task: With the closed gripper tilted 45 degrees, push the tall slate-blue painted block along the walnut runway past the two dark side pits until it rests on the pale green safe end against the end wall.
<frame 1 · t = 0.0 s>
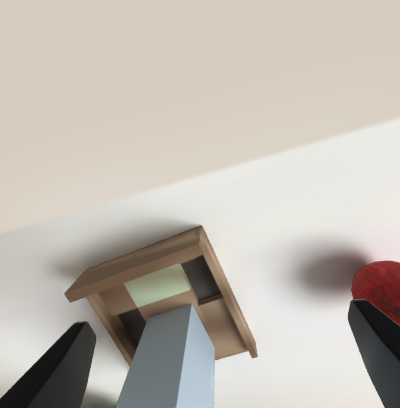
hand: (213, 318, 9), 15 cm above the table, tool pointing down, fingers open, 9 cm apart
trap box: (173, 308, 27), on the table
blue block: (181, 333, 27), point 1 cm above the table, touching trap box
onion: (366, 271, 25), on the table
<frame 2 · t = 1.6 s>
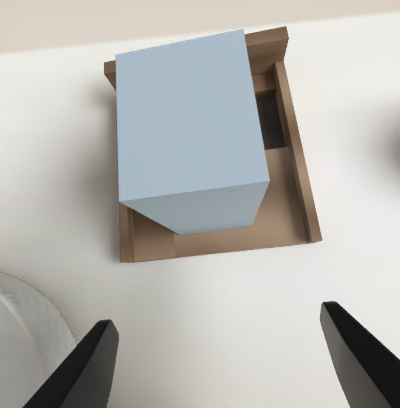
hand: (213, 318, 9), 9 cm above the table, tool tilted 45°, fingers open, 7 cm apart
cereal bowl: (9, 383, 19), on the table
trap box: (208, 163, 20), on the table
blue block: (210, 190, 19), point 1 cm above the table, touching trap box
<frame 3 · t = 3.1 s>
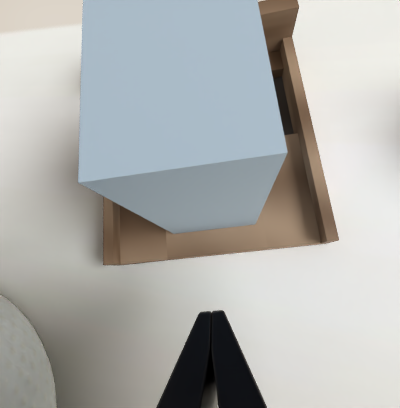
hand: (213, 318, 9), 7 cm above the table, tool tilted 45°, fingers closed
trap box: (206, 153, 18), on the table
blue block: (208, 182, 16), point 1 cm above the table, touching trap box
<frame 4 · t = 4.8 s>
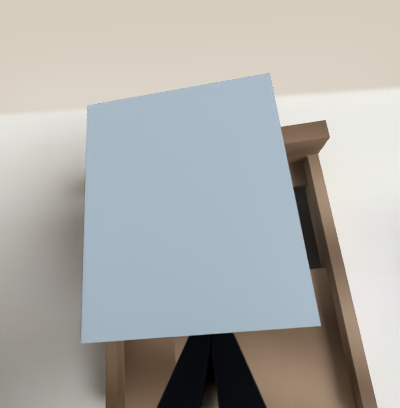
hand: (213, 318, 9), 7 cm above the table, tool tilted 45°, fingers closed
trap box: (221, 277, 16), on the table
blue block: (215, 242, 16), point 1 cm above the table
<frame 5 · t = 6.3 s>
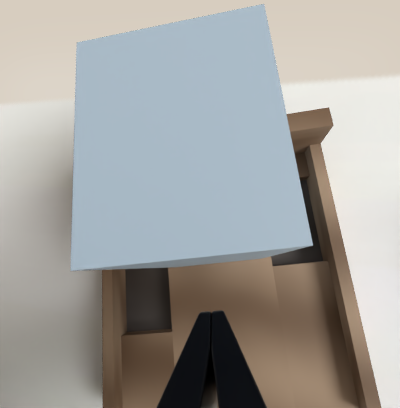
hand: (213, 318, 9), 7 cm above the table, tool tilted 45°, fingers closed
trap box: (220, 271, 16), on the table
blue block: (212, 212, 16), point 1 cm above the table, touching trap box
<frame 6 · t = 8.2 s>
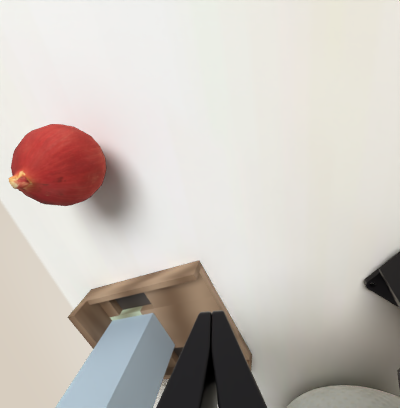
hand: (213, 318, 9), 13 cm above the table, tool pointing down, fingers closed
cereal bowl: (351, 405, 28), on the table
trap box: (171, 320, 29), on the table
blue block: (143, 332, 29), point 1 cm above the table, touching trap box
onion: (94, 152, 22), on the table
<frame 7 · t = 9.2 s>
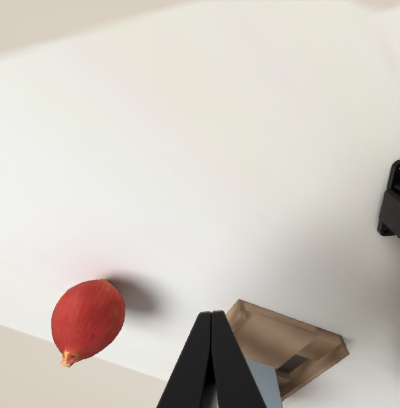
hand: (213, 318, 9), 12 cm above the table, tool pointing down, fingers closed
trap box: (257, 351, 31), on the table
blue block: (243, 373, 31), point 1 cm above the table, touching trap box
onion: (106, 280, 26), on the table
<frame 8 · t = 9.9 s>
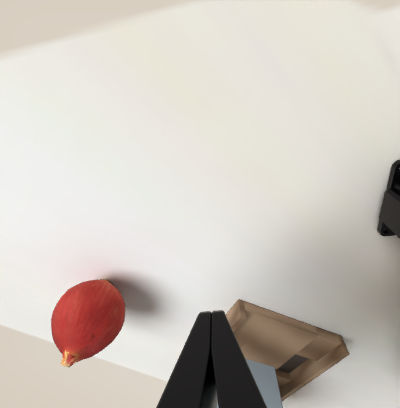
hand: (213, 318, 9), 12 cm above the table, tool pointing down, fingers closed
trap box: (257, 351, 31), on the table
blue block: (243, 373, 31), point 1 cm above the table, touching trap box
onion: (106, 280, 26), on the table
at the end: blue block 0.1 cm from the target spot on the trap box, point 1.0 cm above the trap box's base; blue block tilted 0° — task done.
